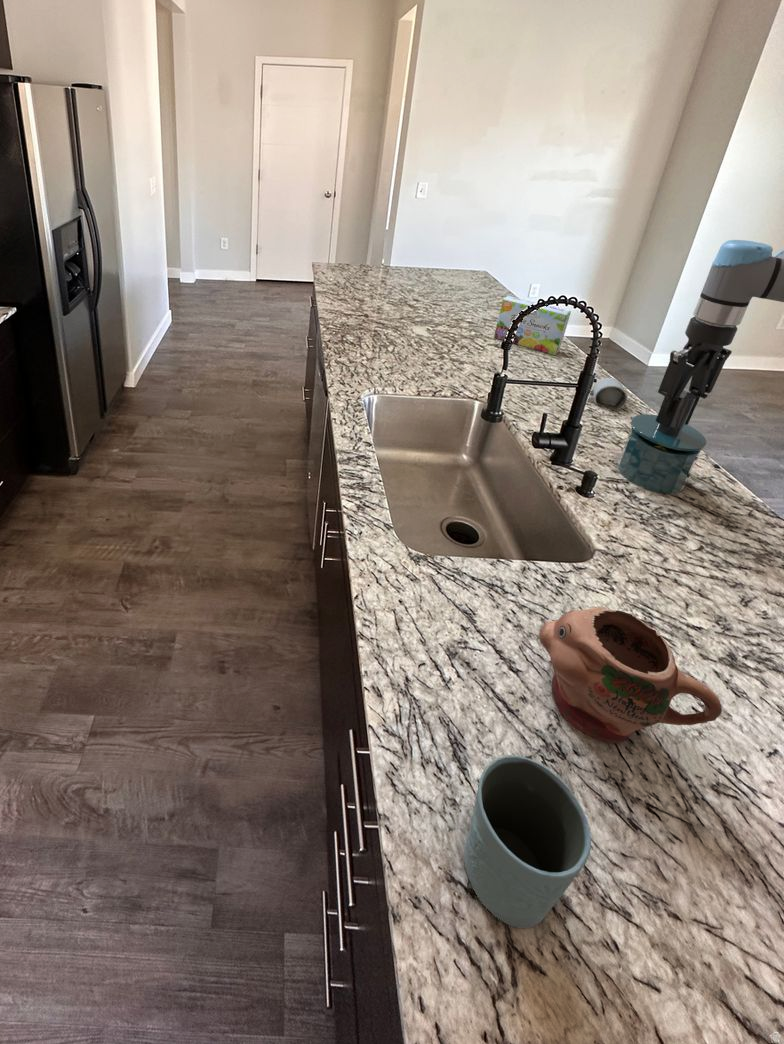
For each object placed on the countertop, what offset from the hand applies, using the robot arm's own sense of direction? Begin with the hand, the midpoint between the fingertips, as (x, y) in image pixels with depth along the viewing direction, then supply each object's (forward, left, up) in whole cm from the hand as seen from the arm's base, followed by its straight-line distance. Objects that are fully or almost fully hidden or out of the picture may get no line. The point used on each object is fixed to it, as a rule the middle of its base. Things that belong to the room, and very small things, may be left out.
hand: (671, 422), depth 115 cm
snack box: (+71, -24, -15) cm, 76 cm away
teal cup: (-51, +77, -15) cm, 94 cm away
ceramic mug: (+30, -16, -15) cm, 37 cm away
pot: (0, 0, -15) cm, 15 cm away
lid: (0, 0, -3) cm, 3 cm away
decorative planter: (-40, +53, -15) cm, 68 cm away
